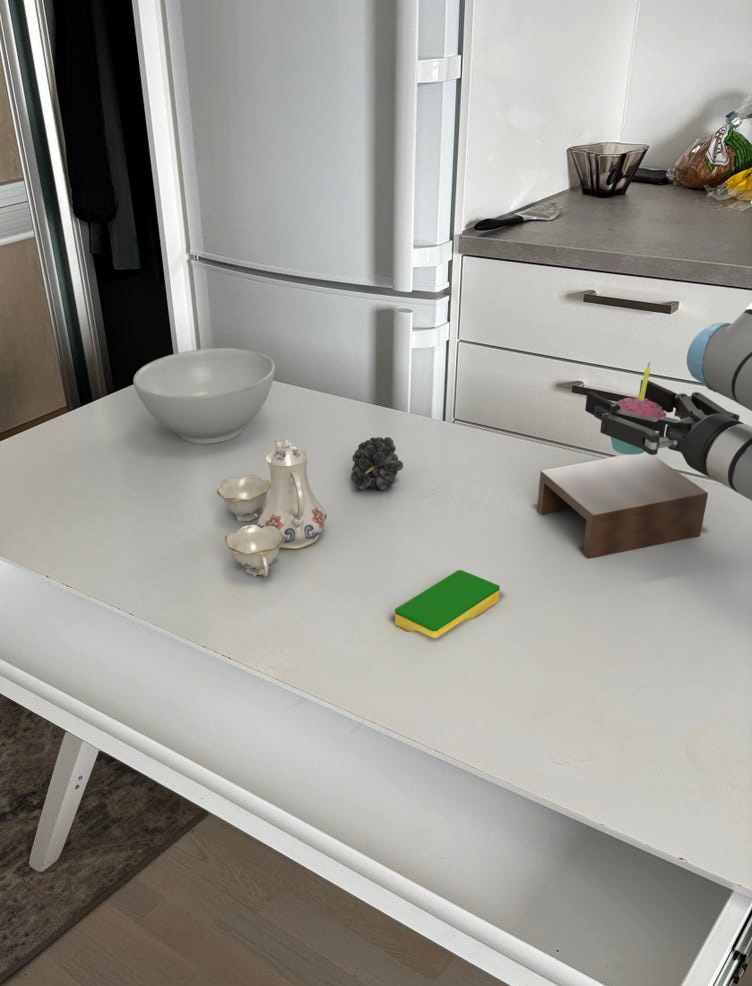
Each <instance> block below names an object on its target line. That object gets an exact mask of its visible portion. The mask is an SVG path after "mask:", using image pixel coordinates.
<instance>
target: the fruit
mask: <svg viewBox="0 0 752 986" xmlns="http://www.w3.org/2000/svg"><path fill="white" fill-rule="evenodd" d="M396 450H397V449H396V445H395V444H394V440H393V438H391V437H390V436H389V437H388V436H386V437H385V438H383V437H380V436H378V437H374V436H373V437H371V438H369V439H367V440H365V441H362V442H360V443H359V445H358V448H357V450H355V452H354V454H353V455H352V462H353V463H354V464H353V467H352V468H351V470H352V472H351V474H350V478H351V481H352V482H355V483H356V485H357V488H358V489H360V490H365V489H368V488H369V489H371V490H373V491H376V490H377V489H379V490H382V491H383V490H384V491H385V490H387V488H388V487H389V486H392V485H394V482H395V477H396V476H397V475H398V472H399V471H401V470H402V469H403V468H404V463H403V462H402V460H400V459H399V457H398V455H397V454H396V453H395V452H396Z"/></svg>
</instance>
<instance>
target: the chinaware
mask: <svg viewBox="0 0 752 986" xmlns="http://www.w3.org/2000/svg"><path fill="white" fill-rule="evenodd" d="M274 446H275V450H273V451H272V452H269V453H268V454H267V455H266V456H265V461H266V463H267V465H268V468H269V473H270V481H269V480H262V478H260V477H259V476H257V475H253V474H250V475H245V476H243V477H241V478H234V477H230V478H226V479H225V480H223V481H222V483H221V485H220V487H219V488H217V490H216V495H218V496H219V497H221V498H222V501H223V503H224V505H225V507H226V508H227V509H228V510H229V511H230V512H231V513H232V514H234V515H235V516H236V519H237V521H239V522H240V521H241V522H250V521H251V522H252V521H254V520H255V519H257V518H258V514H257V513H259V512H260V510H261V513H260V516H259V518H258V519H257V524H246V525H243V526H241V527H239V528H238V530H236V532H231V533H228V534H227V535H226V536H225V538H224V539H225V543H226V546H227V547H228V549H229V551H231V553H232V556H233V558H234V559H235V561H236V562H237V563H238V564H239V565H240V566H242V567H243V568H245V573H248V574H249V575H252V576H254V577H256V576H264V577H267V576H268V575H269V569H270V567H271V565H272V564H273V563H274V562H275V560H276V559H277V557H278V555H279V551H280V550H287V551H288V550H289V551H292V550H293V551H294V550H301V549H305V548H308V547H310V546H312V545H314V544H316V543H317V542H318V541H319V539H320V538H321V533H322V531H323V529H324V525H325V522H326V520H327V512H326V510H325V508H324V507H323V506H322V505H321V503H320V502H319V501H318V500H317V498H316V497H315V495H314V494H313V491H312V489H311V486H310V483H309V480H308V474H307V473H308V471H307V464H308V459H309V458H310V453H309V452H307V451H306V450H304V449H301V448H298V447H296V446H294V445H292V442H290V440H288V439H287V438H286V439H284V440H283V441H282V439H280V438H279V439H275V440H274ZM268 492H269V494H268ZM267 494H268V498H267ZM266 499H267V501H266Z"/></svg>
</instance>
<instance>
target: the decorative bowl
mask: <svg viewBox="0 0 752 986" xmlns="http://www.w3.org/2000/svg"><path fill="white" fill-rule="evenodd" d="M275 371H276V365H275V363H274V361H273V360H272V358H270V357H269V356H267V355H266V354H264V353H261V352H259V351H254V350H250V349H244V348H237V347H236V348H235V347H234V348H233V347H212V348H211V347H210V348H199V349H193V350H187V351H181V352H177V353H173V354H169V355H166V356H163V357H160V358H158V359H154V360H153V361H151V362H149V363H147V364H144V365H143V366H141V368H139V369H138V370H137V371H136V373H135V374H134V376H133V380H132V381H133V386H134V388H135V389H134V390H135V391H136V393H137V395H138V397H139V399H140V400H141V403H142V404H143V406H144V407H145V408H146V410H147V411H148V412H149V413H150V415H152V417H153V418H154V419H155V420H156V421H157V422H158V423H160V424H161V425H162V426H163V427H165V428H166V429H168V430H170V431H172V432H174V433H176V434H179V437H180V438H181V439H182V440H184V441H185V442H189V443H192V444H197V445H209V444H218V443H222V442H225V441H229V440H232V439H234V438H236V437H238V435H240V434H241V433H242V432H243V428H244V427H245V426H246V425H247V424H249V423H250V422H251V421H253V419H254V418H255V417H256V416H257V415H258V413H259V412H260V410H261V409H262V408H263V406H264V405H265V403H266V400H267V399H268V397H269V393H270V392H271V389H272V386H273V382H274V378H275V373H276V372H275Z"/></svg>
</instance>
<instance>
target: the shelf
mask: <svg viewBox="0 0 752 986" xmlns="http://www.w3.org/2000/svg"><path fill="white" fill-rule="evenodd" d="M539 472H540V474H539V483H538V495H537V506H536V507H537V508H536V512H537V513H538V514H539V515H540V516H545V515H550V514H555V513H560V512H561V513H562V512H566V511H570V510H574V511H576V512H577V513H578V514H579V515H580V516H581V517H582V518H583V519H585V520H586V522H585V523H586V524H585V531H584V533H585V534H584V541H583V551H582V554H583V556H584V557H586V559H593V558H594V559H595V558H598V557H603V556H608V555H613V554H617V553H618V554H619V553H623V552H627V551H634V550H636V549H637V550H638V549H642V548H646V547H652V546H656V545H662V544H667V543H671V542H677V541H682V540H686V539H691V538H696V537H697V538H698V537H701V533H702V528H703V523H704V518H705V512H706V506H707V501H708V495H709V492H707V491H706V490H704V489H703V488H702V487H701V486H699V485H697V484H696V483H695V482H694V481H692V480H690V479H689V478H687V477H685V476H684V475H683V474H681V473H680V472H679V471H678V470H676V469H674V468H673V467H671V466H670V465H669V464H667V463H666V462H664V461H663V460H661V459H660V458H658V457H657V456H655V455H650V454H648V453H646V452H644V453H641V454H635V455H628V454H623V455H616V456H611V457H606V458H600V459H595V460H590V461H585V462H579V463H573V464H569V465H563V466H558V467H552V468H547V469H542V470H540V471H539Z"/></svg>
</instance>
